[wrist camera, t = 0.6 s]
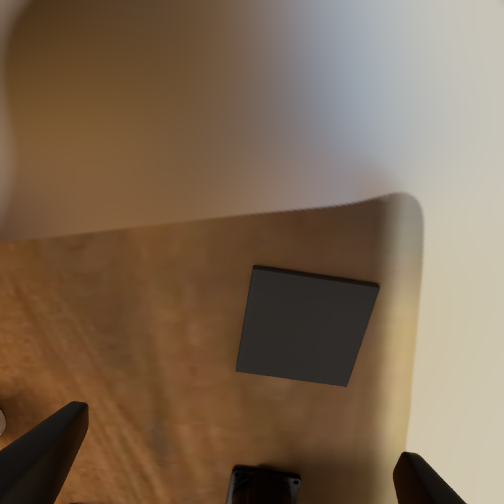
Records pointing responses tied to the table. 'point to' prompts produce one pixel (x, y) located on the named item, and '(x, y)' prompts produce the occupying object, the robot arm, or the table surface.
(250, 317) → the mat
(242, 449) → the table surface
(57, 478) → the robot arm
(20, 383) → the table surface
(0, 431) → the jar
